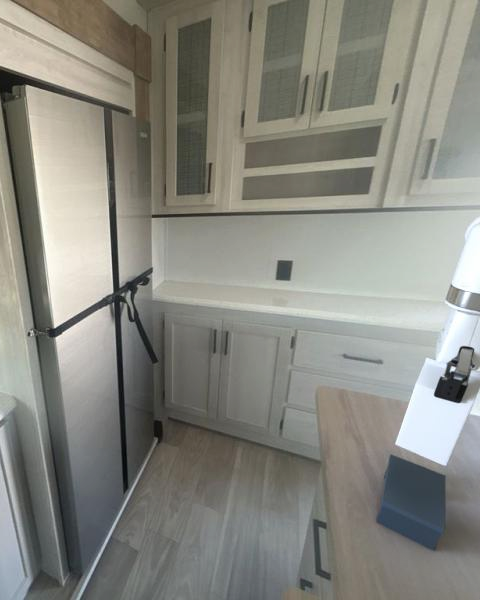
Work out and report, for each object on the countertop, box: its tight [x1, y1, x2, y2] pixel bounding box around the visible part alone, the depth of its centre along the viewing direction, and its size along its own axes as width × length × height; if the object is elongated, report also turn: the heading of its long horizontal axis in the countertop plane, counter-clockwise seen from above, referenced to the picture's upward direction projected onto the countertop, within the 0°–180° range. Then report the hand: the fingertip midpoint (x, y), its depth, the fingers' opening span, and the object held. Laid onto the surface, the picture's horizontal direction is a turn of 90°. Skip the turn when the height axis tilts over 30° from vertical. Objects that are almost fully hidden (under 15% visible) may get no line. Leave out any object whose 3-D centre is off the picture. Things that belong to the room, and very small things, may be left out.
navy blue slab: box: [376, 453, 447, 551], centre depth 68 cm, size 15×9×6 cm, turn 135°
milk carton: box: [395, 357, 480, 467], centre depth 62 cm, size 7×7×19 cm
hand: (446, 386), depth 60 cm, fingers closed on milk carton, 7 cm apart
